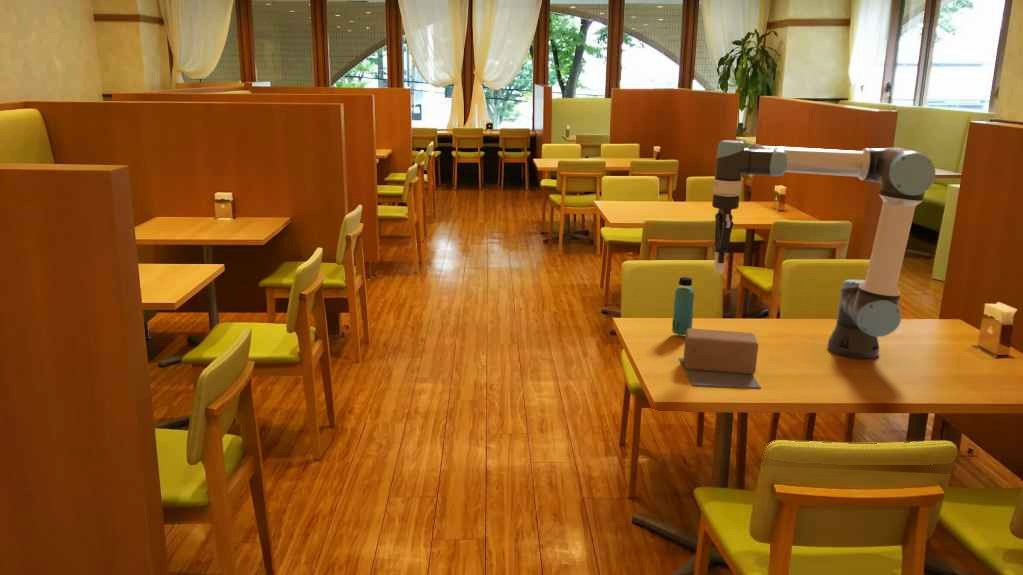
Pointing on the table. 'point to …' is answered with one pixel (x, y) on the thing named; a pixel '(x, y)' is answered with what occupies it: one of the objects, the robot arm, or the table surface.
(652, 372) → the table surface
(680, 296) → the beverage bottle
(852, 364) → the table surface
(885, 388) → the table surface
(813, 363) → the table surface
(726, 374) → the mat
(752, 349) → the wooden block
